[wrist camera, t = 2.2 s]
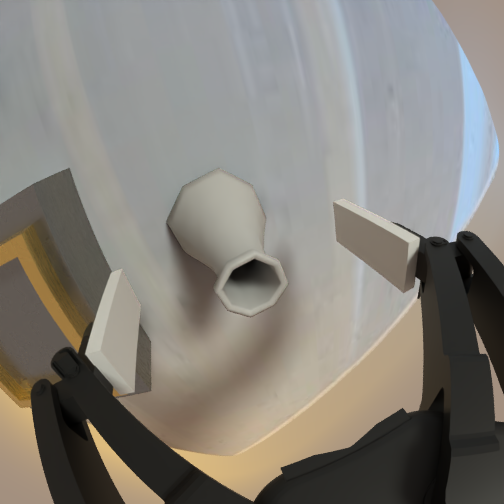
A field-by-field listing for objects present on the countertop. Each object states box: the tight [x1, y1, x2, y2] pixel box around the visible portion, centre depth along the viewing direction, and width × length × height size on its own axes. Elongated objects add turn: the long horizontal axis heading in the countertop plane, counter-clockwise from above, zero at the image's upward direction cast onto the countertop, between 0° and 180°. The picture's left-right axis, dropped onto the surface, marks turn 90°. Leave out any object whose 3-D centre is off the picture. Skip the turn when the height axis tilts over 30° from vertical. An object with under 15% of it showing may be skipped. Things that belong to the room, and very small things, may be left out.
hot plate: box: [0, 168, 151, 408], centre depth 16 cm, size 19×15×8 cm
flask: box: [166, 168, 289, 317], centre depth 16 cm, size 7×7×10 cm
